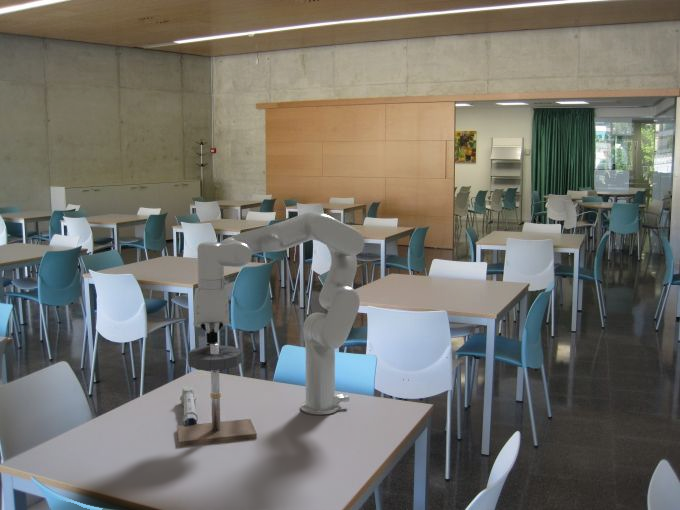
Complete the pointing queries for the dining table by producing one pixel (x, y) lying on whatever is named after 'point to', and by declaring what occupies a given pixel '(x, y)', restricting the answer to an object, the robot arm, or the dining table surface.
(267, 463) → the dining table surface
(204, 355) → the grey faceted washer
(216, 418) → the steel pipe
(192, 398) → the white cylindrical tool
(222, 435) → the pipe stand base
